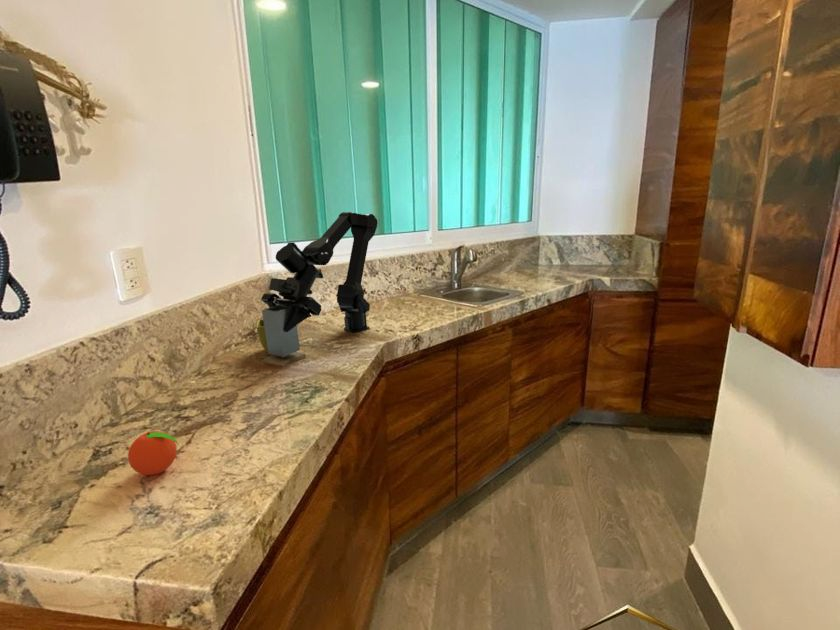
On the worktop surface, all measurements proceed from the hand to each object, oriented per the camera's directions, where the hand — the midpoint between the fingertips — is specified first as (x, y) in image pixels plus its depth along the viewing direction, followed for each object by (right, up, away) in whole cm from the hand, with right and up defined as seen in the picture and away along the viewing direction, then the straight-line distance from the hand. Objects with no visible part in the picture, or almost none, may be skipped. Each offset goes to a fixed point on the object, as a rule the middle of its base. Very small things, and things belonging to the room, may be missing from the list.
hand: (277, 330), depth 121 cm
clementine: (-5, -22, -47) cm, 52 cm away
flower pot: (-4, -7, +12) cm, 14 cm away
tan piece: (+1, -8, +3) cm, 9 cm away
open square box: (+1, -6, +3) cm, 7 cm away
